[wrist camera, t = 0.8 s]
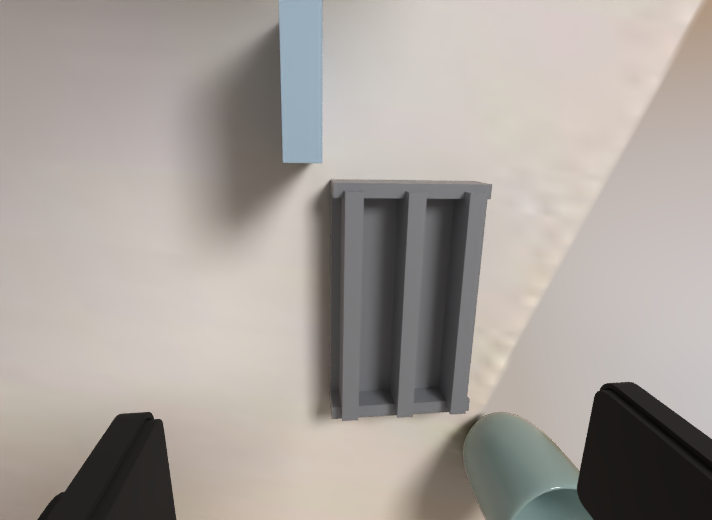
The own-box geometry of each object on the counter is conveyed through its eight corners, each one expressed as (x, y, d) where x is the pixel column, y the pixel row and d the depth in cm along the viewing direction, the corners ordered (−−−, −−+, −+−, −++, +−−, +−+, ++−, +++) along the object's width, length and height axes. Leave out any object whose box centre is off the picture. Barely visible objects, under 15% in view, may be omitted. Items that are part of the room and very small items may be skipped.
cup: (547, 412, 38) (629, 501, 28) (507, 479, 40) (572, 585, 30) (476, 387, 36) (537, 473, 27) (437, 458, 38) (482, 563, 28)
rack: (330, 179, 30) (334, 184, 26) (474, 181, 32) (498, 185, 28) (329, 396, 35) (332, 427, 31) (455, 389, 36) (473, 418, 32)
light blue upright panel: (287, 16, 27) (277, -68, 17) (314, 18, 27) (322, -64, 17) (290, 157, 29) (282, 162, 19) (315, 157, 30) (322, 163, 19)
